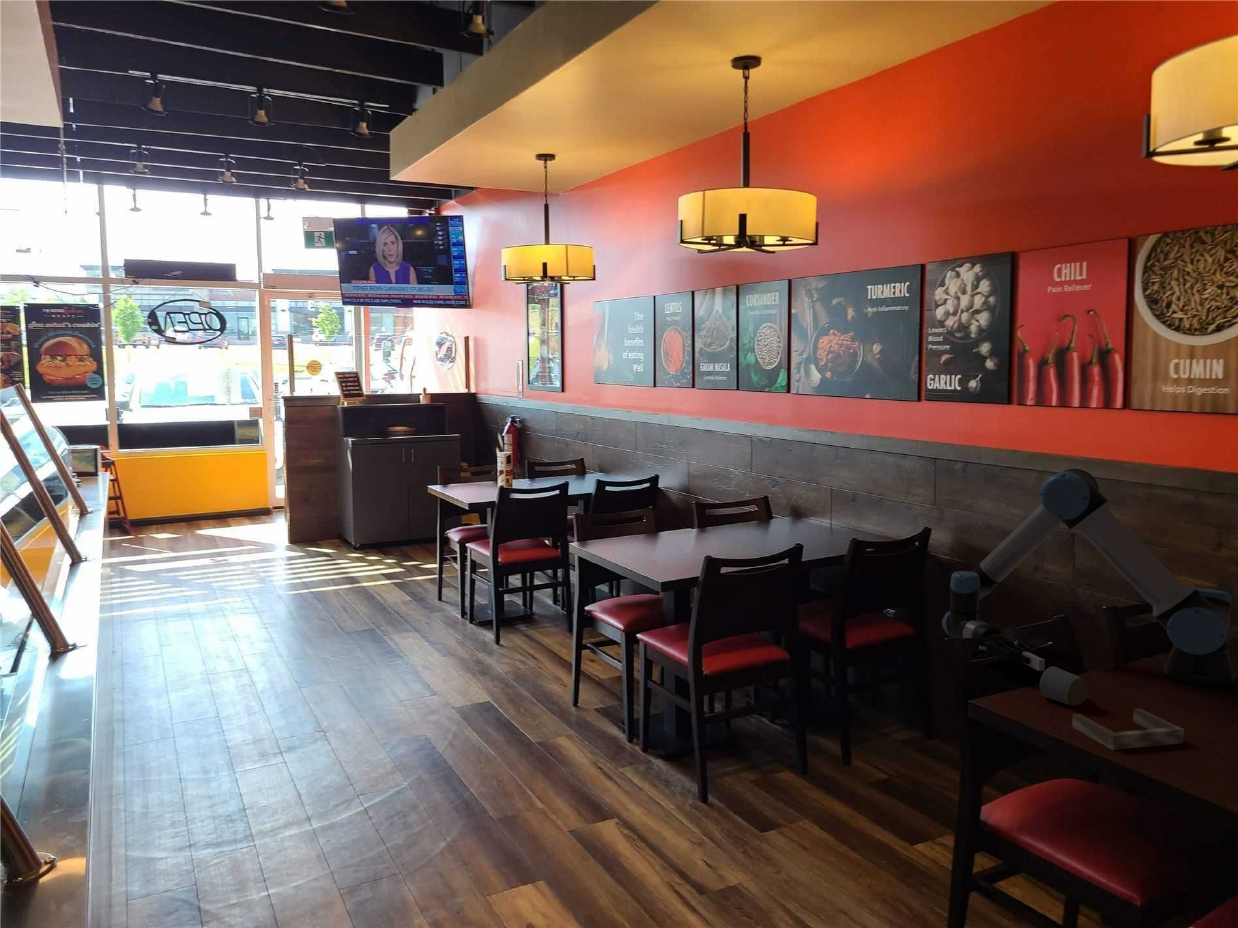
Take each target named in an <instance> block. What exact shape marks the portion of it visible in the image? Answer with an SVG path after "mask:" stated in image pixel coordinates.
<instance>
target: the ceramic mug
mask: <svg viewBox="0 0 1238 928" xmlns="http://www.w3.org/2000/svg"><path fill="white" fill-rule="evenodd" d="M1088 689H1089V688H1088V684H1087V682H1086V680H1085V679H1083V678H1082V677H1081V676H1079V675H1077V674H1074V673H1071V672H1069V671H1066V670H1064V669H1061V668H1059V667H1058V666H1057V667H1056V666H1055V665H1053V666H1049V667H1048V668H1046V669H1044V671H1043V673H1042V674H1041V677H1040V680H1039V692H1040V694H1041V696H1042V697H1044V698H1046V699H1050V700H1052V701H1055V702H1058V703H1060V704H1063V705H1066V706H1069V707H1078V706H1080V705H1082V704H1083V703H1084V701H1086V700H1088V698H1089V694H1088V691H1089V690H1088Z"/></svg>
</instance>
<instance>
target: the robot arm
mask: <svg viewBox="0 0 1238 928" xmlns="http://www.w3.org/2000/svg"><path fill="white" fill-rule="evenodd" d="M1039 492H1040V493H1039V500H1040V504H1039V505H1038V506H1037V507H1036V508H1035V509H1034V510H1032V512H1031V513H1030V514H1029V515H1028V516H1027V517H1025V518H1024V520H1022V522H1021V523H1019V525H1018V526H1017V527H1016V528H1014V529H1013V530H1012V532H1011V533H1009V534H1008V535H1007V536H1006V537H1005V538H1004V539H1003V540H1002V541H1001V542H1000V543H999V544H998V545H997V546H996V547H995V548H994V549H993V550H992V551H991V552H990V553H989V554H987V556H986V557H985V558H984V559H983V560H982V561H980V563H979V564H978V565H976V566H975V567H974V568H973V569H972V570H971V571H968V570H958V571H954V572H953V573H952V574H951V579H950V583H949V587H950V595H949V596H950V597H949V598H950V599H949V601H950V602H949V611H948V612H946V613H945V615H944V617H943V618H942V621H941V623H942V624H941V625H942V628H943V630H944V632H945V633H946V634H947V635H949V636H950V637H951V638H953V639H954V638H977V637H980V636H989V635H991V634H997V633H1003V632H1002V631H1001V629H999V628H998V627H995V626H993V625H990V624H989V623H986V622H985V621H982V620H979V603H980V600H981V599H983V598H984V597H986V596H988V595H989V594H990V593H992V592H993V591H994V589H995V588H996V587H997V586H999V584H1000V582H1002V581H1003V580H1004V579H1005V578H1006V577H1008V575H1009V574H1010V573H1011V572H1013V571H1014V569H1016V568H1017V567H1018V566H1019V565H1020V564H1021V563H1022V562H1024V561H1025V559H1027V558H1028V556H1029V555H1030V554H1031V553H1033V552H1034V550H1037V548H1038V547H1039V546H1040V545H1041V544H1042V543H1043V542H1044V541H1046V539H1048V538H1049V537H1050V536H1051V535H1052V534H1053V533H1054V532H1055V531H1056V530H1058V529H1059V527H1060V526H1061V525H1064V526H1065V527H1066V528H1068V530H1070V531H1072V532H1079V533H1081V534H1082V535H1083V536H1084V537H1085V539H1087V540H1088V542H1090V543H1091V544H1092V546H1094V547H1095V548H1096V549H1097V551H1098V552H1100V554H1101V555H1102V556H1103V557H1104V558H1106V560H1107V561H1108V562H1109V563H1110V564H1111V565H1112V566H1113V568H1115V569H1116V570H1117V571H1118V573H1120V574H1121V575H1122V577H1123V578H1125V579H1126V581H1128V583H1130V585H1131V586H1133V587H1134V589H1135V590H1136V591H1137V592H1138V593H1139V594H1140V595H1141V596H1142V597H1143V598H1144V599H1145V600H1146V601H1147V602H1148V603H1149V604H1150V606H1152V617H1153V618H1154V619H1156V621H1157V622H1158V623H1159V624H1160V626H1162V627H1163V629H1165V631H1166V634H1167V635H1168V638H1169V640H1170V641H1171V643H1172V644H1173V645H1172V647H1171V649H1170V651H1169V655H1168V656H1167V659H1166V660H1165V662H1164V667H1163V668H1164V671H1163V672H1164V674H1165V675H1167V676H1168V677H1170V678H1172V679H1175V680H1177V681H1180V682H1184V683H1188V684H1191V685H1192V684H1193V685H1197V686H1204V687H1214V688H1215V687H1216V688H1217V687H1219V688H1221V687H1230V686H1233V685H1234V684H1235V683H1236V672H1235V670H1234V669H1233V664H1232V660H1231V657H1230V652H1229V645H1230V643H1229V642H1230V632H1231V631H1230V629H1231V616H1232V614H1231V613H1232V606H1233V602H1232V595H1231V594H1230V593H1229V592H1226V591H1223V590H1218V589H1210V588H1204V587H1195V586H1190V585H1189V586H1188V585H1184V584H1183V583H1181V582H1180V580H1179V579H1178V578H1177V577H1176V576H1175V575H1174V574H1172V572H1171V571H1169V569H1168V568H1167V567H1166V566H1165V565H1164V564H1163V563H1161V561H1160V560H1159V559H1158V558H1157V557H1156V555H1154V554H1153V553H1152V552H1151V551H1150V550H1149V549H1148V548H1147V547H1146V546H1145V545H1144V544H1143V543H1142V542H1141V541H1140V540H1139V539H1138V538H1137V537H1136V536H1135V535H1134V534H1133V533H1132V532H1131V531H1130V530H1129V529H1128V528H1127V527H1126V526H1125V525H1124V524H1123V523H1122V522H1121V521H1120V520H1119V519H1118V518H1117V516H1115V515H1114V514H1113V513H1112V512H1111V511H1110V501H1109V500H1108V498H1106V497H1105V496H1104V495H1103V494H1102V493H1101V492H1100V487H1099V483H1098V482H1097V479H1096V478H1095V477H1094V476H1093V475H1092V473H1089V472H1088V471H1086V470H1084V469H1080V468H1069V469H1064V470H1063V471H1059V472H1055V473H1054V474H1052V475H1051V476H1049V477H1048V479H1046V480H1045V482H1043V484H1042V487H1041V489H1040V491H1039ZM978 652H979V653H983V654H985V655H988V656H993V657H996V656H1001V657H1000V658H999V659H1002V660H1005V661H1007V662H1010V663H1011V662H1015V664H1016V665H1017V666H1018V665H1019V666H1020V665H1021V663H1022V664H1024V665H1026V666H1028V667H1030V668H1032V669H1034V670H1037V671H1039V672H1044V671H1045V662H1046V660H1045V659H1044V658H1041V657H1039V656H1037V655H1036V650H1035V649H1034V648H1032V647H1031V645H1030V646H1029V645H1028V644H1027V643H1026V642H1024V640H1023V639H1021V638H1020V639H1018V640H1016V641H1013V640H1012V639H1010V638H1008V637H1006V636H1005V635H1004V636H1001V637H1000V638H997V637H996V638H994V639H993V640H992V641H989V642H986V643H983V644H980V646H979V650H978ZM1234 682H1235V683H1234ZM1233 683H1234V684H1233Z"/></svg>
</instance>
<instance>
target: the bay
mask: <svg viewBox="0 0 1238 928" xmlns="http://www.w3.org/2000/svg"><path fill="white" fill-rule="evenodd" d="M1071 721H1072V722H1071V723H1072V724H1071V725H1072V726H1071V728H1072V727H1073V728H1072V729H1075V730H1076V731H1078V732H1080V733H1082V734H1084V735H1085V736H1087V737H1089V738H1091V739H1092V740H1094V741H1096V742H1098V743H1099V744H1101V745H1104V746H1105V747H1106V748H1108V749H1111V750H1112V751H1117V750H1126V749H1127V750H1128V749H1137V748H1147V747H1148V748H1149V747H1157V746H1169V745H1177V744H1184V735H1185V729H1184V728H1182V727H1180V726H1178V725H1175V724H1174V723H1171V722H1170V721H1167V720H1165V719H1163V718H1162V717H1159V716H1156V714H1153V713H1151V712H1148V711H1146V710H1145V709H1142V708H1138V707H1137V708H1133V719H1132V722H1133V723H1135V724H1137V725H1138V726H1140V727H1142V728H1145V729H1140V730H1139V729H1137V730H1127V731H1117V732H1114V731H1113V730H1110V729H1109V728H1108V727H1105V726H1103V725H1101V724H1099V723H1097V722H1095V721H1093V719H1090V718H1088V717H1087V716H1084V715H1083V714H1080V713H1072V720H1071Z"/></svg>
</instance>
